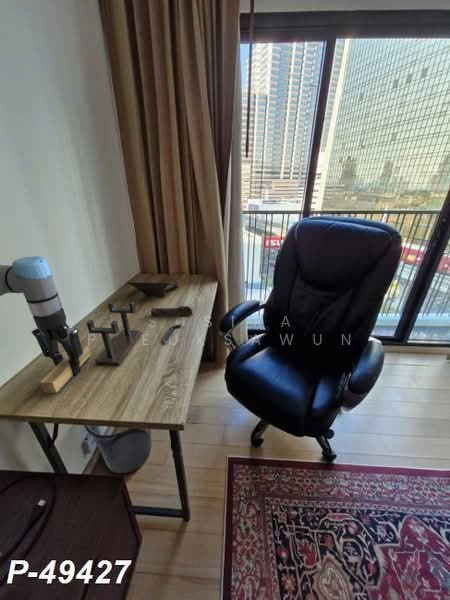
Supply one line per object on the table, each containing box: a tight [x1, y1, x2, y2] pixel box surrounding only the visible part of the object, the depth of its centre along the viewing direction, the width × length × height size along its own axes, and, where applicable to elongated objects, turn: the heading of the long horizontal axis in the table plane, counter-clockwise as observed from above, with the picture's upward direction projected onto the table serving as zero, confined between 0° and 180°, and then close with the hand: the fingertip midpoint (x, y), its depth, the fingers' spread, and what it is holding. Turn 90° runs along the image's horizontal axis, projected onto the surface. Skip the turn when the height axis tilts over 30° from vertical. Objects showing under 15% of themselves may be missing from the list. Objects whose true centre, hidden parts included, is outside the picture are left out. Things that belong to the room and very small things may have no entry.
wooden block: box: [39, 344, 92, 394], centre depth 81 cm, size 4×18×5 cm, turn 175°
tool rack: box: [85, 300, 142, 367], centre depth 93 cm, size 10×20×16 cm, turn 175°
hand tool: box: [150, 305, 193, 317], centre depth 117 cm, size 19×4×5 cm, turn 88°
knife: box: [162, 323, 182, 345], centre depth 104 cm, size 14×4×1 cm, turn 169°
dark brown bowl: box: [126, 281, 180, 298], centre depth 138 cm, size 23×23×9 cm
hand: (70, 372), depth 82 cm, fingers closed on wooden block, 4 cm apart
